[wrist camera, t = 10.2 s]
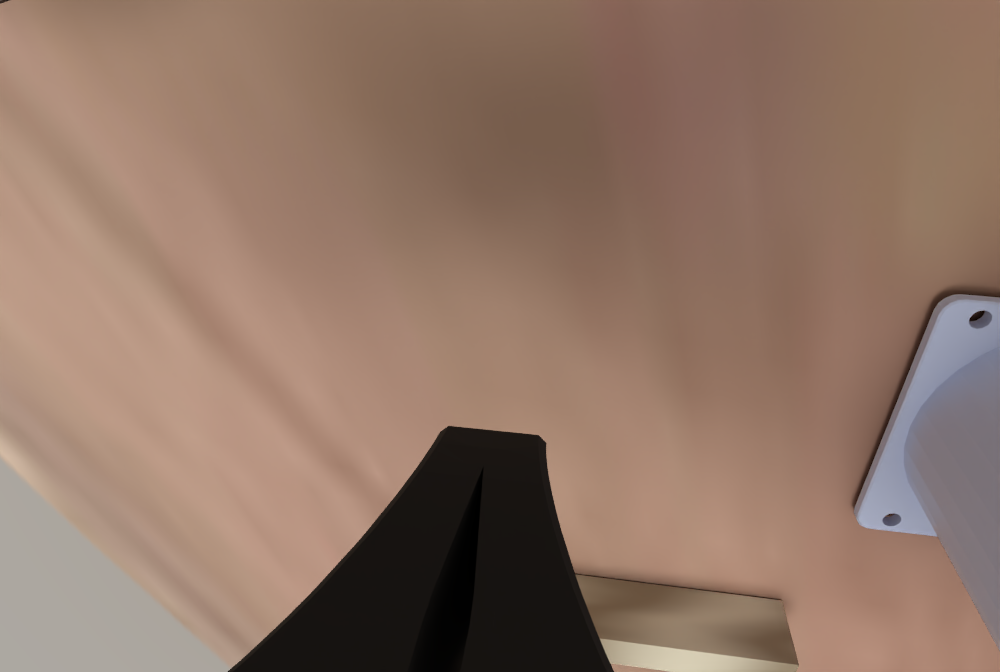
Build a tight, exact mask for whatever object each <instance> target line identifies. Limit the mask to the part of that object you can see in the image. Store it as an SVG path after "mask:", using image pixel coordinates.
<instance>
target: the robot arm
mask: <svg viewBox="0 0 1000 672" xmlns="http://www.w3.org/2000/svg"><path fill="white" fill-rule="evenodd" d="M984 310H985V313H984V315H983V316H982V317H981V318H979V319H978V320H976V321H969V319H970V317H971V316H972V315H973V314H974V313H976V312H978V311H984ZM894 513H895V514H894ZM854 514H855V516H856V519H857V521H858V523H859V524H860V525H861V526H863V527H865V528H869V529H877V530H886V531H895V532H903V533H912V534H920V535H929V536H938V538H939V540H940V542H941V544H942V545H943V547H944V549H945V551H946V553H947V555H948V557H949V558H950V560H951V562H952V564H953V566H954V568H955V569H956V571H957V573H958V575H959V577H960V579H961V581H962V582H963V584H964V586H965V588H966V590H967V592H968V594H969V595H970V597H971V599H972V601H973V603H974V605H975V606H976V608H977V610H978V612H979V614H980V616H981V618H982V619H983V621H984V623H985V625H986V627H987V629H988V630H989V632H990V634H991V636H992V638H993V640H994V642H995V643H996V645H997V647H998V649H999V651H1000V297H988V296H977V295H965V294H957V295H951V296H949V297H946V298H944V299H943V300H941V301H940V302H939V303H938V304H937V306H936V307H935V309H934V311H933V313H932V316H931V318H930V321H929V323H928V325H927V328H926V330H925V333H924V335H923V338H922V340H921V343H920V345H919V348H918V350H917V353H916V355H915V358H914V360H913V363H912V365H911V368H910V370H909V373H908V375H907V378H906V380H905V383H904V385H903V388H902V390H901V393H900V395H899V398H898V400H897V403H896V405H895V408H894V410H893V413H892V415H891V418H890V420H889V423H888V425H887V428H886V430H885V433H884V435H883V438H882V440H881V443H880V445H879V448H878V450H877V453H876V455H875V458H874V460H873V463H872V465H871V468H870V470H869V473H868V475H867V478H866V480H865V483H864V485H863V488H862V490H861V493H860V495H859V498H858V500H857V503H856V505H855V508H854ZM888 514H894V515H892V516H890V517H885V516H886V515H888ZM228 672H614V671H613V669H612V666H611V664H610V662H609V659H608V657H607V655H606V653H605V650H604V648H603V645H602V643H601V641H600V638H599V636H598V633H597V631H596V629H595V626H594V623H593V621H592V618H591V616H590V613H589V611H588V608H587V605H586V603H585V600H584V598H583V595H582V592H581V589H580V587H579V584H578V581H577V578H576V575H575V573H574V570H573V566H572V563H571V560H570V557H569V554H568V551H567V547H566V544H565V541H564V538H563V535H562V531H561V528H560V524H559V521H558V517H557V513H556V509H555V505H554V500H553V496H552V491H551V487H550V481H549V476H548V469H547V459H546V442H545V441H544V440H543V439H542V438H541V437H540V436H539V435H531V434H522V433H512V432H502V431H492V430H483V429H473V428H463V427H453V426H448V427H447V428H445V429H444V430H442V431H441V432H440V433H439V435H438V437H437V438H436V440H435V442H434V443H433V445H432V446H431V448H430V449H429V451H428V452H427V454H426V455H425V457H424V458H423V460H422V461H421V462H420V464H419V465H418V467H417V468H416V470H415V471H414V472H413V474H412V475H411V476H410V478H409V479H408V480H407V482H406V483H405V484H404V486H403V487H402V488H401V490H400V491H399V492H398V494H397V495H396V496H395V497H394V499H393V500H392V501H391V502H390V504H389V505H388V506H387V507H386V509H385V510H384V511H383V512H382V513H381V515H380V516H379V517H378V518H377V520H376V521H375V522H374V523H373V524H372V526H371V527H370V528H369V529H368V531H367V532H366V533H365V534H364V535H363V537H362V538H361V539H360V540H359V541H358V542H357V544H356V545H355V546H354V547H353V548H352V549H351V550H350V551H349V552H348V553H347V555H346V556H345V557H344V558H343V559H342V560H341V561H340V562H339V563H338V564H337V565H336V567H335V568H334V569H333V570H332V571H331V572H330V573H329V574H328V575H327V576H326V577H325V579H324V580H323V581H322V582H321V583H320V584H319V585H318V586H317V587H316V588H315V589H314V590H313V591H312V592H311V594H310V595H309V596H308V597H307V598H306V599H305V600H304V601H303V602H302V603H301V604H300V605H299V606H298V607H297V608H296V609H295V610H294V611H293V612H292V613H291V614H290V615H289V616H288V617H287V618H286V619H285V620H283V621H282V622H281V623H280V624H279V625H278V626H277V627H276V628H275V629H274V630H273V631H272V632H271V633H270V634H269V635H268V636H267V637H266V638H264V639H263V640H262V641H261V642H260V643H259V644H258V645H257V646H256V647H255V648H254V649H253V650H252V651H251V652H249V653H248V654H247V655H246V656H245V657H244V658H243V659H242V660H241V661H239V662H238V663H237V664H236V665H235V666H234V667H233V668H231V669H230V670H229V671H228Z"/></svg>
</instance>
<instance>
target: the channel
mask: <svg viewBox="0 0 1000 672" xmlns="http://www.w3.org/2000/svg"><path fill="white" fill-rule="evenodd" d="M575 575H576V574H575ZM576 578H577V581H578V584H579V587H580V589H581V592H582V595H583V598H584V600H585V603H586V605H587V608H588V611H589V613H590V616H591V618H592V621H593V623H594V626H595V629H596V631H597V633H598V636H599V638H600V641H601V643H602V645H603V648H604V650H605V653H606V655H607V657H608V659H609V662H610V663H611V664H619V665H626V666H633V667H640V668H648V669H655V670H662V671H670V672H796V671H797V669H798V666H799V664H798V660H797V656H796V652H795V648H794V644H793V641H792V637H791V633H790V629H789V625H788V622H787V618H786V614H785V610H784V606H783V602H782V600H774V599H766V598H758V597H750V596H743V595H735V594H727V593H719V592H711V591H703V590H695V589H687V588H679V587H671V586H663V585H655V584H647V583H639V582H632V581H624V580H616V579H608V578H600V577H592V576H584V575H576Z"/></svg>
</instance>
